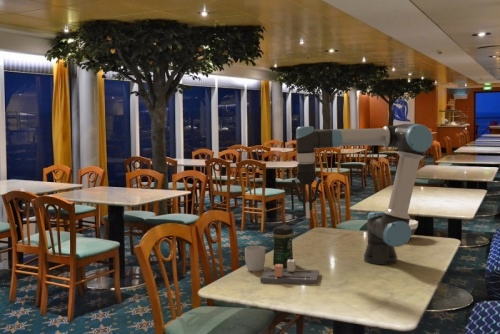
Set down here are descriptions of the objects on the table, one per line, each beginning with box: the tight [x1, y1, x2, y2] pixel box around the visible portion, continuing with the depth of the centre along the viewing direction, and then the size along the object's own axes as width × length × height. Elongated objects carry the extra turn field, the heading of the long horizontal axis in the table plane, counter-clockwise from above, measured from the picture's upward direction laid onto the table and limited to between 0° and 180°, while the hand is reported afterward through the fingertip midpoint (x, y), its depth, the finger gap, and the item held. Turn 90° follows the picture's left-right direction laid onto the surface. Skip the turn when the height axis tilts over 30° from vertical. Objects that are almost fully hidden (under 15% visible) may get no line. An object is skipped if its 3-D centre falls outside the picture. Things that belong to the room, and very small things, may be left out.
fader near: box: [274, 264, 284, 277], centre depth 229 cm, size 3×4×4 cm
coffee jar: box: [272, 224, 294, 268], centre depth 252 cm, size 10×8×19 cm
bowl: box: [409, 218, 419, 237], centre depth 301 cm, size 20×20×10 cm
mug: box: [244, 245, 266, 273], centre depth 248 cm, size 13×9×10 cm
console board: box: [259, 268, 320, 285], centre depth 232 cm, size 23×15×2 cm, turn 79°
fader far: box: [286, 258, 296, 272], centre depth 236 cm, size 3×4×4 cm
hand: (308, 217), depth 236 cm, fingers closed
